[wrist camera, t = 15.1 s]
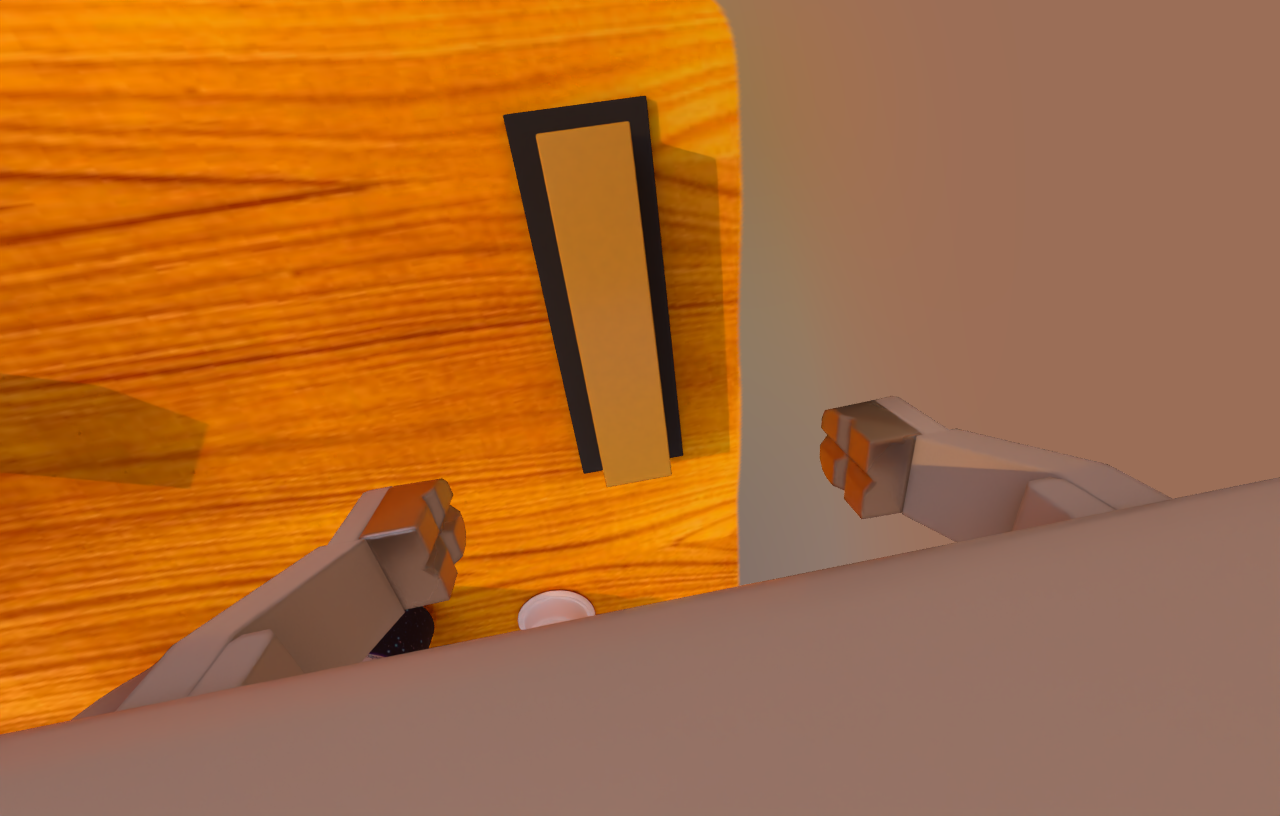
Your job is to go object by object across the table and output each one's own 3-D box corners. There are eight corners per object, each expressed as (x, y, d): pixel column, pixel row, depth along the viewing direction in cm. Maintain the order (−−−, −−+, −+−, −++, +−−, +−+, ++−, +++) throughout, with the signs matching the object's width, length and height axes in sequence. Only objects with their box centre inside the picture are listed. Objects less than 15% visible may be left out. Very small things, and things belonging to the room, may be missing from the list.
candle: (511, 638, 32) (478, 861, 21) (527, 583, 30) (501, 800, 19) (583, 645, 33) (587, 860, 23) (604, 594, 31) (618, 803, 21)
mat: (504, 116, 19) (502, 114, 18) (644, 97, 19) (646, 95, 19) (583, 470, 27) (583, 474, 26) (681, 452, 27) (683, 455, 27)
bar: (622, 130, 19) (629, 120, 17) (662, 447, 26) (672, 475, 24) (540, 141, 19) (535, 133, 16) (603, 457, 26) (606, 488, 24)
